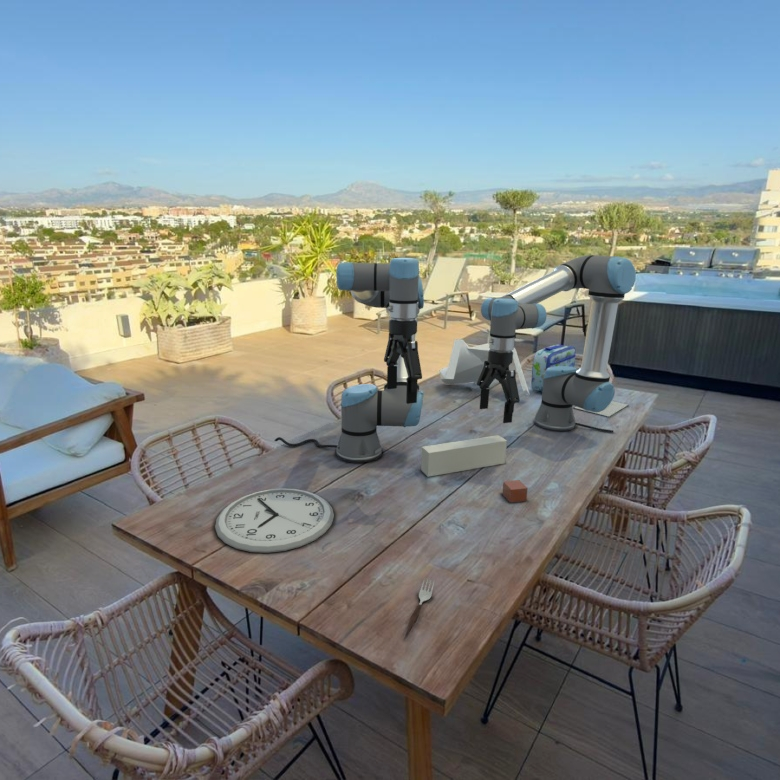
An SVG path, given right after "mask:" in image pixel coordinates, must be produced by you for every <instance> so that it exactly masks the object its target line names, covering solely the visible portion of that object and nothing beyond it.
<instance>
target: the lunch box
mask: <svg viewBox="0 0 780 780" xmlns="http://www.w3.org/2000/svg"><path fill="white" fill-rule="evenodd" d="M576 357H577V355H576V347H575V346H569V345H565V344H554V345H550V346H547V347H544V348H542V349H541V348H540V349H539V350H537V351H536V352H535V353H534V356H533V360H532V367H531V368H532V369H531V382H530V383H531V386H530V387H531V389H532V390H533V391H537V392H542V391H543V380H544V379H543V378H544V375H545V370H546V369H547V368H549V367H555V366H570V367H575V364H576Z"/></svg>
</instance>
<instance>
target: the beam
mask: <svg viewBox="0 0 780 780" xmlns="http://www.w3.org/2000/svg"><path fill="white" fill-rule="evenodd" d="M507 446H508V440H507V439H506V438H504V437H502V436H501V435H499V434H497V435H490V436H483V437H478V438H477V437H476V438H470V439H464V440H458V441H450V442H443V443H439V444H431V445H425V446H421V457H420V459H421V460H420V471H421V472H422V473H423V474H424V475H425V476H426V477H427V478H430V477H434V476H440V475H441V476H442V475H446V474H452V473H458V472H463V471H468V470H469V471H470V470H476V469H480V468H486V467H491V466H497V465H498V466H499V465H503V464H506V457H507V456H506V455H507Z"/></svg>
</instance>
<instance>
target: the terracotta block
mask: <svg viewBox="0 0 780 780" xmlns="http://www.w3.org/2000/svg"><path fill="white" fill-rule="evenodd" d="M502 483H503V484H502V495H503V497H504V498H505V499H506V500H507V501H508V502H509V503H519V502H526V501H527V499H528V486H526V485H525V484H524V483H523V482H522V481H521V480H520V479H516V480H506V481H503V482H502Z"/></svg>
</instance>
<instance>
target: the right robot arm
mask: <svg viewBox="0 0 780 780" xmlns="http://www.w3.org/2000/svg"><path fill="white" fill-rule="evenodd" d="M636 276H637V275H636V267H635V266H634V264H633V262H632V261H631V259H629V258H627V257H621V256H617V255H615V256H613V255H612V256H610V255H595V254H586V255H582V256H578V257H576V258H572V259H569V260H568V261H565V262H563V263H561V264H559V265H557V266H555V267H554V269H553V270H552V271H551V272H549V273H547V274H544V275H542V276H541V277H539V278H537V279H534V280H533V281H531V282H529V283H527V284H525V285H522V286H520V287H519V288H517V289H515V290H512V291H511V292H509V293H506V294H505V295H503V296H500V297H497V298H496V297H487V298H486V299H484V300H483V302H482V304H481V306H480V314H481V317H482V318H483V319H485V320H487V321H490V327H489V340H488V344H489V348H490V350H489V351H488V361H484V367H483V369H482V372H481V374H480V377H479V379H478V382H477V383H476V385H477V386H478V387H479V389H480V394H479V397H480V398H479V399H480V400H479V410H488V409H489V399H490V386H491V384H492V383H493V382H494V381H495V380H496V381H497V382H498V383H499V384H500V385H501V388H502V392H503V394H504V398H505V400H506V401H505V402H504V409H503V417H502V419H503V420H502V423H503V424H511V423H513V416H514V415H513V414H514V412H515V411H514V410H515V404H517V403H519V404H520V401H521V400H520V394H519V389H518V383H517V378H516V377H517V376H516V375H517V370H516V369H510V365H511V364H513V362H514V360H513V352H512V350H513V349H514V348H515V341H516V339H515V338H516V330H517V331H518V330H529V329H536V328H540V327H542V326H544V325H545V323H546V321H547V315H548V314H547V313H548V312H547V310H546V308H545V307H544V305H543V304H540V303H542V302H544V301H545V300H547V299H549V298H551V297H553V296H555V295H557V294H559V293H561V292H569V291H571V290H574V289H584V290H585V289H586V290H588V294H587V296H588V297H589V299H590V300H591V302H590V310H589V316H588V321H587V322H588V323H587V329H586V333H585V341H584V348H583V353H582V358H581V364H580V367H579V368H577V367H575V366H574V367H570V366H555V367H549V368H547V369H546V370H545V375H544V378H543V379H544V380H543V391H541V402H540V405H539V407H538V410H537V411H536V413H535V416H534V424H535V425H536V426H537V427H539V428H542V429H544V430H549V431H556V432H567V431H572V430H574V429H575V428H576V426H579V427H583V428H586V429H591V430H595V431H599V432H605V433H612V434H614V430H613V429H605V428H600V427H595V426H592V425H588V424H584V423H579V422H576V418H575V417H576V416H575V413H574V407H576V406H577V407H580V408H582V409H585V410H587V411H586V412H588V411H592V412H601V411H603V410H604V409H606V408H607V406H609V404H610V403H611V401H613V399H614V397H615V392H616V389H615V386H614V384H613V383H611V381H610V378H611V375H610V373H609V372H608V371H607V370H608V363H609V359H610V353H611V352H610V351H611V347H612V342H613V336H614V330H615V325H616V318H617V313H618V307H619V303H620V302H621V301H623V300H624V299H625V295H626V294H628V293H630V292H631V291H632V290H633V287H634V286H635V283H636ZM515 398H516V399H515ZM573 406H574V407H573ZM592 412H591V413H592Z"/></svg>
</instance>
